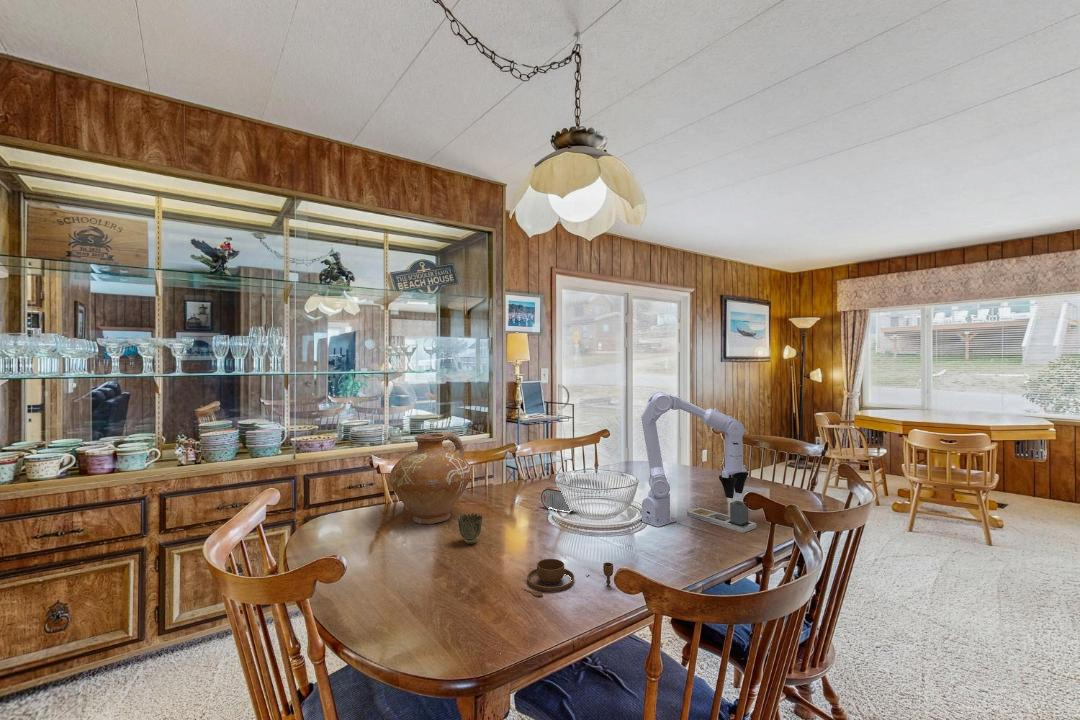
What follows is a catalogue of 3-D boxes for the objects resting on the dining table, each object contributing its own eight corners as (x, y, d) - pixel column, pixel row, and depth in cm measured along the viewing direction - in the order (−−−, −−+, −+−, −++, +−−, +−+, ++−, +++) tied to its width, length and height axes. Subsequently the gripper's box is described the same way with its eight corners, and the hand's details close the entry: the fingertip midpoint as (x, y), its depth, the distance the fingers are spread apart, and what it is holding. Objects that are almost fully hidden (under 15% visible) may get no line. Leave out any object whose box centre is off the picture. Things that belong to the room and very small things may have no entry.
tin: (579, 513, 178) (579, 489, 178) (575, 515, 175) (575, 492, 175) (544, 506, 186) (544, 484, 186) (539, 508, 183) (539, 486, 183)
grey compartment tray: (743, 533, 156) (743, 528, 156) (687, 515, 173) (687, 511, 173) (756, 527, 160) (756, 523, 160) (700, 511, 178) (700, 507, 178)
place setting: (554, 565, 134) (554, 543, 134) (617, 587, 121) (617, 563, 121) (510, 588, 121) (510, 564, 121) (575, 615, 108) (574, 589, 108)
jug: (376, 518, 174) (375, 434, 174) (445, 502, 193) (444, 426, 193) (414, 539, 153) (413, 443, 153) (487, 518, 172) (486, 433, 172)
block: (741, 530, 158) (741, 505, 158) (730, 526, 161) (730, 502, 161) (748, 527, 161) (748, 503, 161) (737, 524, 164) (737, 500, 164)
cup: (477, 548, 145) (477, 521, 145) (454, 546, 147) (454, 519, 147) (485, 539, 153) (485, 513, 153) (463, 537, 154) (463, 512, 154)
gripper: (736, 459, 156) (737, 502, 156) (754, 453, 167) (754, 493, 167) (715, 457, 161) (715, 498, 161) (733, 450, 172) (734, 489, 172)
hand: (734, 495), depth 164 cm, fingers open, 7 cm apart
